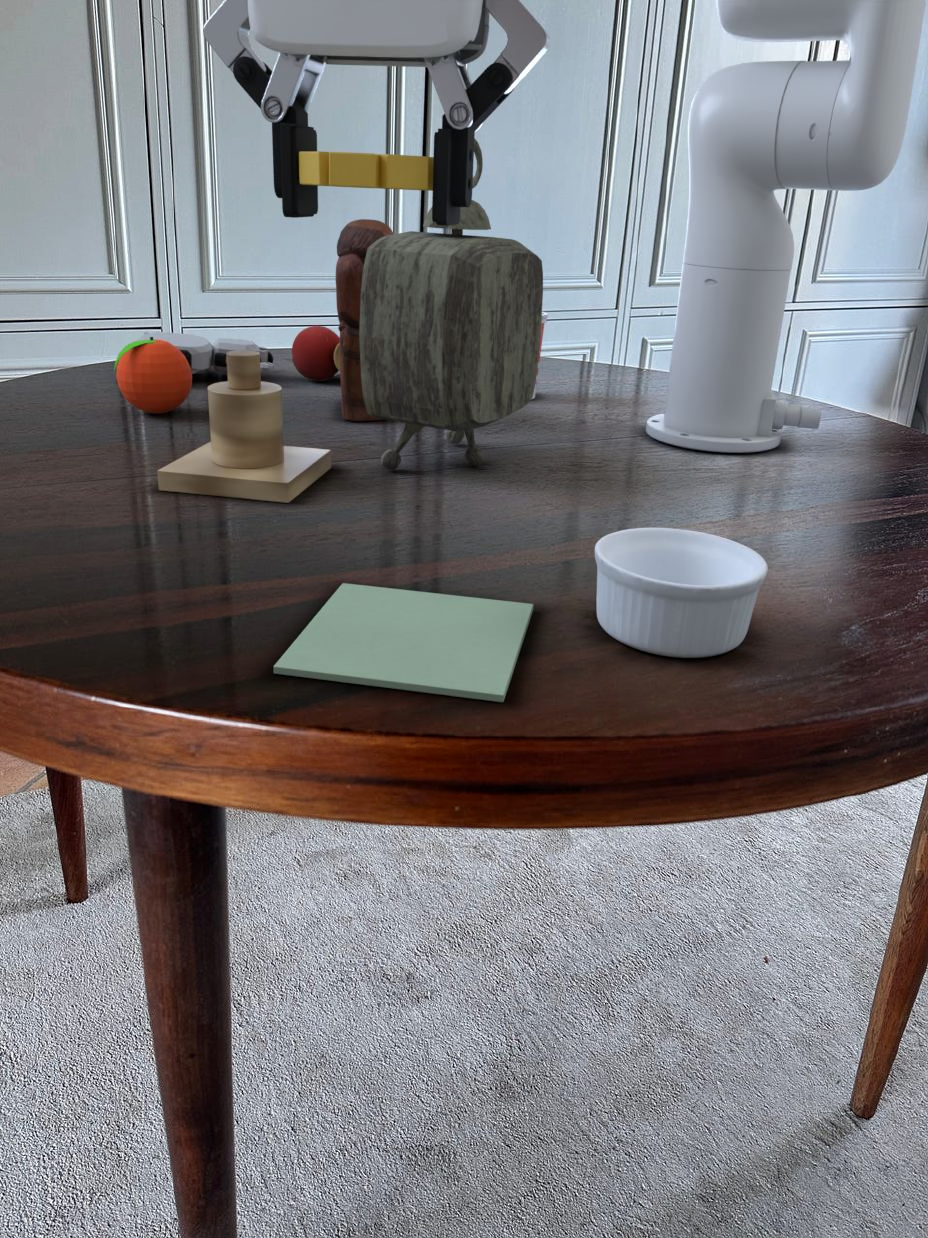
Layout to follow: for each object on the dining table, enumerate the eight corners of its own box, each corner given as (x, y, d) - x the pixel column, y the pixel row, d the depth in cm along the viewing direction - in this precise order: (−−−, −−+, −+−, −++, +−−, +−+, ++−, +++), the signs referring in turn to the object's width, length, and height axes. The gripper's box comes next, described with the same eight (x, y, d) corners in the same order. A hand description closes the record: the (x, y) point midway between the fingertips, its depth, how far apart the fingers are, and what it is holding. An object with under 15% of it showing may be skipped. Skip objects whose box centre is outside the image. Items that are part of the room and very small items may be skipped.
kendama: (444, 387, 119) (294, 361, 118) (453, 336, 116) (299, 308, 114) (443, 412, 113) (285, 385, 111) (453, 359, 110) (290, 330, 108)
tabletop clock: (447, 437, 91) (458, 135, 81) (537, 453, 87) (560, 137, 77) (359, 472, 79) (358, 123, 69) (458, 491, 75) (473, 125, 65)
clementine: (144, 426, 90) (136, 346, 87) (95, 414, 94) (86, 337, 91) (209, 412, 97) (205, 337, 94) (161, 402, 100) (155, 329, 97)
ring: (454, 190, 49) (456, 159, 49) (424, 190, 43) (424, 155, 43) (328, 184, 50) (327, 154, 50) (281, 183, 44) (280, 149, 44)
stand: (331, 467, 80) (329, 347, 76) (288, 503, 71) (284, 368, 67) (215, 457, 82) (207, 338, 78) (158, 490, 73) (147, 358, 69)
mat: (533, 610, 55) (533, 603, 55) (503, 702, 45) (503, 695, 45) (342, 589, 57) (342, 582, 56) (273, 673, 47) (273, 666, 47)
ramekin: (716, 595, 58) (727, 525, 56) (783, 663, 50) (798, 583, 48) (569, 599, 57) (576, 527, 55) (614, 669, 49) (624, 587, 47)
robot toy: (269, 374, 120) (140, 365, 116) (271, 336, 118) (139, 325, 115) (275, 395, 109) (132, 385, 105) (277, 353, 108) (131, 341, 104)
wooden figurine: (401, 424, 95) (404, 223, 88) (334, 422, 95) (332, 220, 87) (401, 399, 106) (404, 218, 99) (341, 397, 106) (339, 215, 98)
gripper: (132, -286, 38) (168, 212, 46) (578, -302, 35) (542, 232, 43) (214, -214, 45) (234, 210, 52) (595, -223, 42) (561, 227, 49)
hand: (372, 216), depth 47 cm, fingers closed on ring, 6 cm apart
